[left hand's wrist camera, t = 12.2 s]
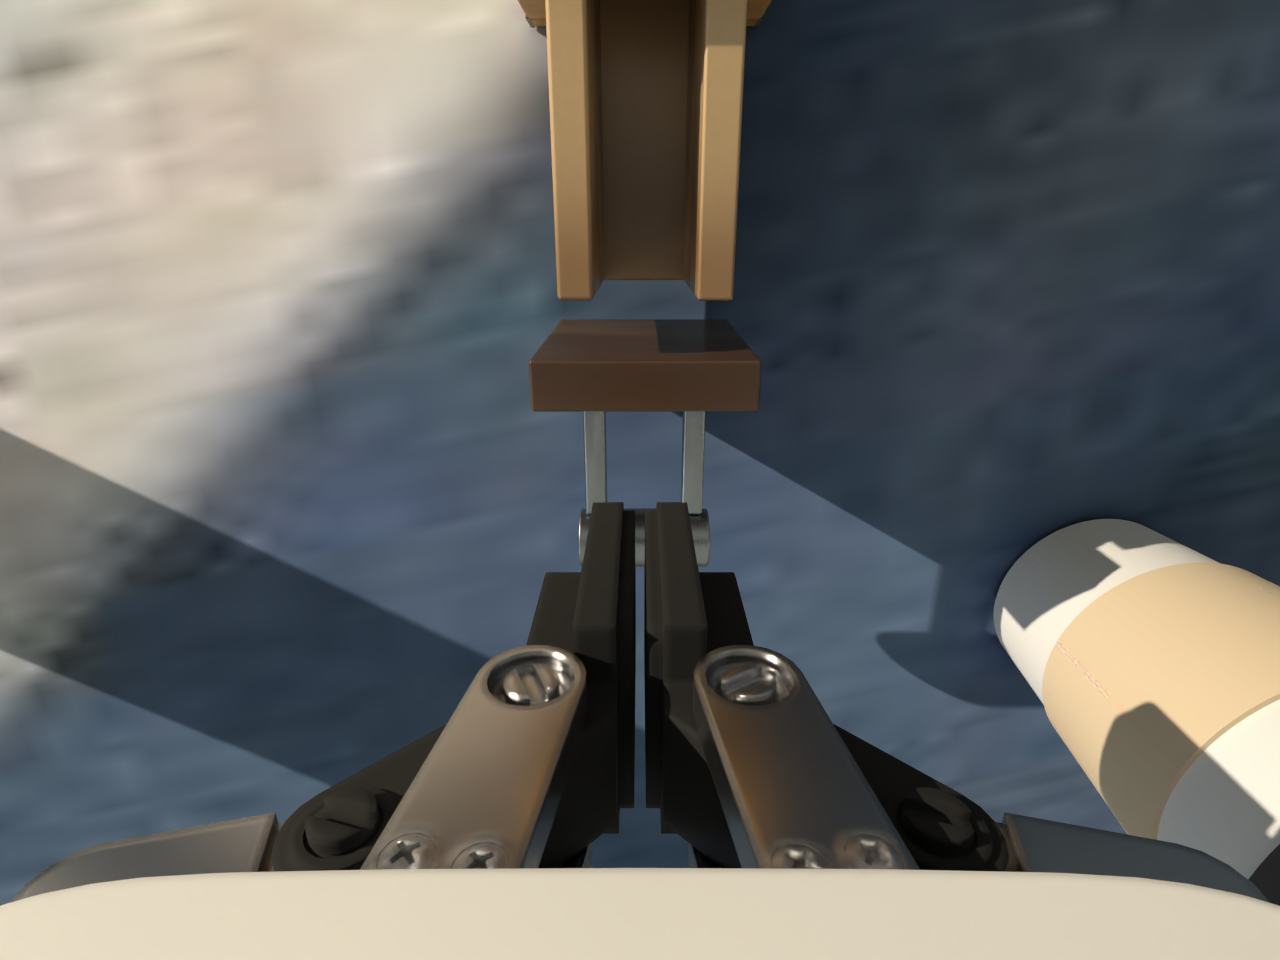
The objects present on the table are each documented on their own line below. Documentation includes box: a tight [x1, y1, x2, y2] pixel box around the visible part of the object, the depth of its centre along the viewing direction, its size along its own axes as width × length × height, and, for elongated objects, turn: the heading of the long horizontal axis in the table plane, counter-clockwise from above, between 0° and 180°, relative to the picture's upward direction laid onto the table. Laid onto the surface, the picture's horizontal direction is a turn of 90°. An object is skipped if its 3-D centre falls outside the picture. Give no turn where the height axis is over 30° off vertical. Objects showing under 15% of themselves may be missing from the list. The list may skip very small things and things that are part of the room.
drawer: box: [529, 0, 762, 567], centre depth 17 cm, size 23×5×7 cm, turn 0°
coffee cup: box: [994, 519, 1280, 906], centre depth 19 cm, size 9×9×15 cm
